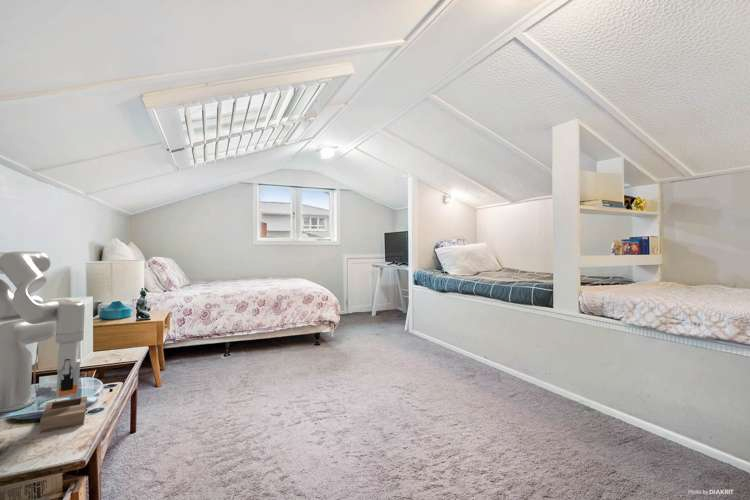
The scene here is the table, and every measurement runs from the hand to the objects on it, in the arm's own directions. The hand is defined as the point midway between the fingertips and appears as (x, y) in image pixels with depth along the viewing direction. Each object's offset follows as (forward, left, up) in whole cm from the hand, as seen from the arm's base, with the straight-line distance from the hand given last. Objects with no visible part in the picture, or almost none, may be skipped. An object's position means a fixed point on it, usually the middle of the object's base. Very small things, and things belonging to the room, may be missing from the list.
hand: (67, 387), depth 125 cm
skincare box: (0, 0, -3) cm, 3 cm away
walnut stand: (+2, -2, -11) cm, 11 cm away
